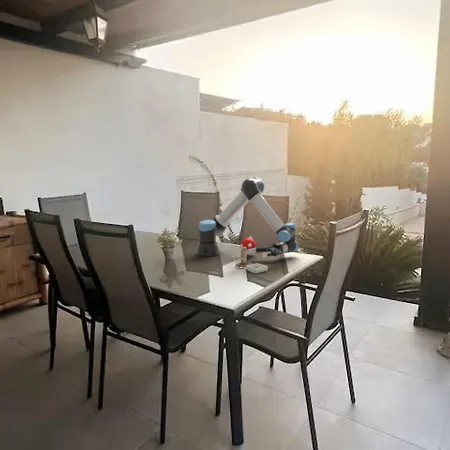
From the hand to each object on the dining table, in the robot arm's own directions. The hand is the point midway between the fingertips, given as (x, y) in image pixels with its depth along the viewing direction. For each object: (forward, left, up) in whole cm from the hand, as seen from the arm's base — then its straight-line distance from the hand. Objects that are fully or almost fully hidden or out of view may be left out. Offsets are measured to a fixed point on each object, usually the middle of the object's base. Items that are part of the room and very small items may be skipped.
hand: (255, 253), depth 244 cm
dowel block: (0, -9, -7) cm, 12 cm away
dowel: (0, -9, -7) cm, 12 cm away
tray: (+11, -9, -7) cm, 16 cm away
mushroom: (-20, +14, -6) cm, 25 cm away
